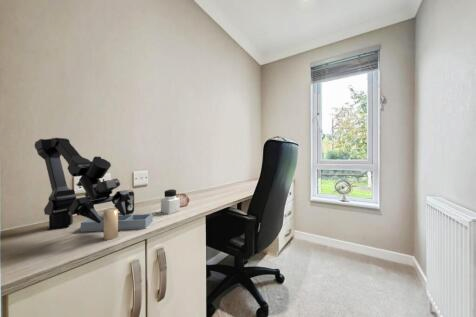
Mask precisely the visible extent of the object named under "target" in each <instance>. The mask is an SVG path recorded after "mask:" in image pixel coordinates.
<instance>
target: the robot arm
mask: <svg viewBox="0 0 476 317" xmlns="http://www.w3.org/2000/svg"><path fill="white" fill-rule="evenodd" d="M34 148H35V150H36V152H37V155H38V156H39V157H40V158H42V159H43V160H44V162H45V166H46V169H47V175H48V178H49V183H50V186H51V188H50V189H51V192H50V195H49V196H48V203H46V205H45V207H44V209H43V213H44V215H45V216H46V215H47V216H48V218H49V219H48V228H47V229H46V230H47V231H50V230H51V231H52V230H59V229H66V228H69V227H70V226H71V225H72V224H73V222H74V221H73V219H74V218H73V216H74V215H76V216H82V217H84V218H86V219H91V220H93V221H95V222H97V223H101V219H100V217H99V216H100V215H99V213H98V212H97V210H96V209H95V205H101V204H102V205H103V204H107V203H110V202H112V204H113V206H114V208H115V209H118V213H119V214H120V215H124V216H125V215H126V209H125V200H126V198H127V197H128V196H129V195H130V194H129V192H128V191H127V190H128V189H125V190H119V191H116V192H115V194H114V195H112V194H113V191H114V190H115V189H117V188H119V187H120V186H121V182H120V180H119V179H118V178H112V179H110V180H109V179H108V180H107V179H106V180H103V181H101V180H100V179H104V177H105V175H106V174H107V173H108V171H109V170H110V168H111V167H112V163H111V162H110V161H108V160H106V159H105V158H102V157H101V156H94V157H93V159H92V161H91V160H90V159H88V158H86V157H83V156H81V154H80V153H79V152H78V151H77V150H76V148H75V147H74V145H72V144H71V141H70V140H69V139H68V138H65V137H51V138H46V139H45V138H43V139H42V138H39V139H38V140H37V141H35V142H34ZM61 156H62V157H63V159H64V160H65V161H66V163H67V164H68V166H67V170H68V172H69V174H70V176H71V177H73V178H74V177H80V178H79V179H78V180H79V181H78V182H77V187H82V188H83V189H84V191H85V194H84V196H82V197H77V195H76V191H75V190H74V189H71V188H69V187H68V185H67V181H66V175H65V172H64V169H63V164H62V160H61Z"/></svg>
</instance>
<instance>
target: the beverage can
mask: <svg viewBox="0 0 476 317" xmlns="http://www.w3.org/2000/svg"><path fill="white" fill-rule="evenodd" d="M126 190H127V191H128V192H129V194H130V195H129V196H128V197H127V198H126V200H125V209H126V215H133V213H134V212H135V192H134V190H133V189H126Z"/></svg>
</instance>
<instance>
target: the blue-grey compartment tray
mask: <svg viewBox="0 0 476 317" xmlns="http://www.w3.org/2000/svg"><path fill="white" fill-rule="evenodd" d="M153 216H154V215H153V213H142V214H127V215H125V216H124V215H122V214H118V231H121V230H124V231H125V230H143V229H147V228H148V227H149V226H150V225H151V224H152V223H153V218H154V217H153ZM99 217H100V219H101V223H97V222H95V221H93V220H91V219H89V218H86V220H84V221H83V220H82V221H81V222H80V232H84V233H85V232H95V231H96V232H102V231H103V232H104V215H99Z"/></svg>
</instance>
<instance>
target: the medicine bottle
mask: <svg viewBox="0 0 476 317" xmlns="http://www.w3.org/2000/svg"><path fill="white" fill-rule="evenodd" d="M180 200H181V198H179V197H177V190H176V189H166V190H164V198H161V199H160V213H164V214H168V215H171V214H172V215H173V214H174V213H178V212H180V211H181V204H180V203H181V201H180Z"/></svg>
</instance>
